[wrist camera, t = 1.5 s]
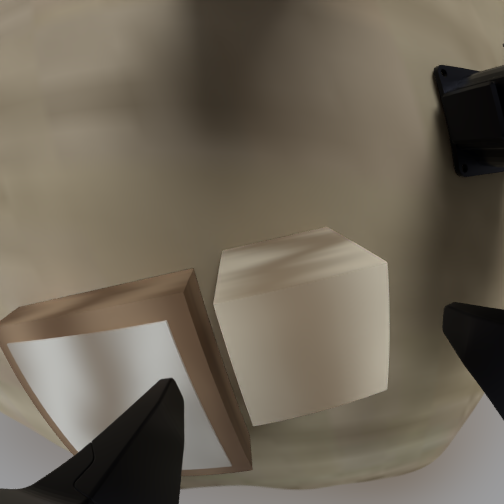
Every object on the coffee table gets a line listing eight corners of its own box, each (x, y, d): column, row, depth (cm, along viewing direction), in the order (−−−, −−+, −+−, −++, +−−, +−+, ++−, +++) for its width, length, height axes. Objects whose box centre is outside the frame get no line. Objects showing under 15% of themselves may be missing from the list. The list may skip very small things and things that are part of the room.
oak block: (326, 226, 14) (387, 262, 8) (339, 318, 15) (387, 389, 9) (222, 250, 14) (213, 304, 8) (246, 341, 15) (253, 426, 9)
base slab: (193, 268, 14) (182, 293, 11) (249, 435, 17) (252, 471, 14) (18, 307, 14) (-10, 329, 11) (98, 443, 17) (86, 471, 14)
